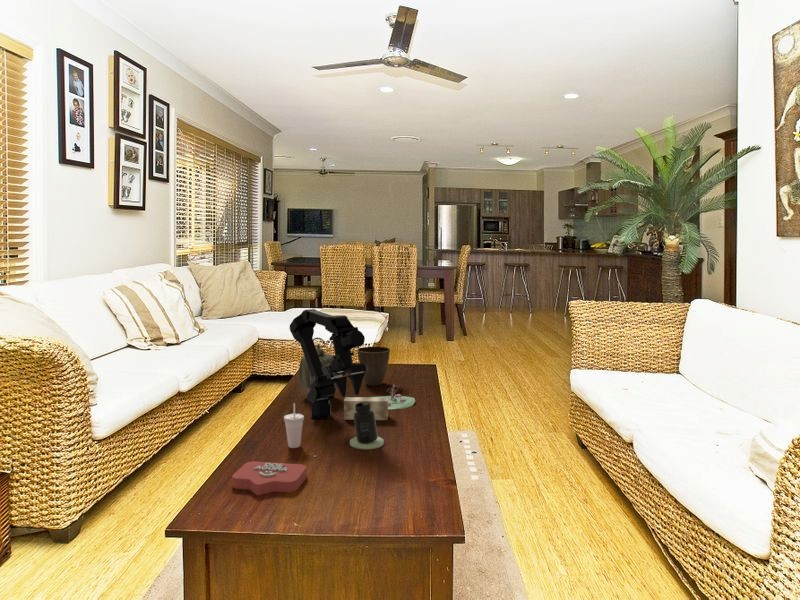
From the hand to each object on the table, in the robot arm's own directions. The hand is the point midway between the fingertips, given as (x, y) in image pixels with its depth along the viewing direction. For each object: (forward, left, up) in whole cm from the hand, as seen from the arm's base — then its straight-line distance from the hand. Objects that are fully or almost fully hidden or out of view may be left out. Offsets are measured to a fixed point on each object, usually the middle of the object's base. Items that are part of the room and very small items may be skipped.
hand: (350, 395), depth 199 cm
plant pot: (+5, +64, -12) cm, 66 cm away
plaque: (-18, -45, -13) cm, 50 cm away
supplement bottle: (+7, -14, -11) cm, 19 cm away
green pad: (+7, -14, -12) cm, 19 cm away
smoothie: (-16, -17, -12) cm, 26 cm away
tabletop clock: (-17, +41, -12) cm, 46 cm away
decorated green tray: (+11, +34, -13) cm, 38 cm away
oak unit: (+5, +13, -12) cm, 19 cm away
